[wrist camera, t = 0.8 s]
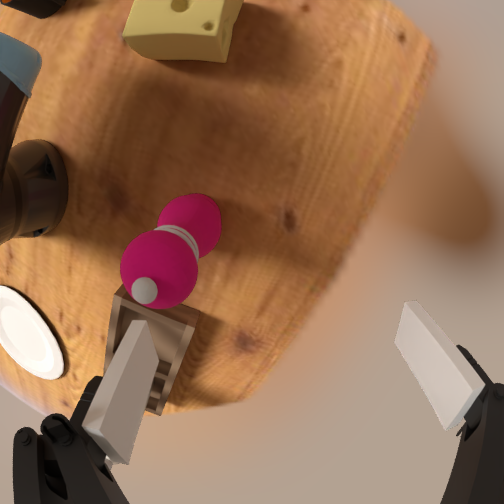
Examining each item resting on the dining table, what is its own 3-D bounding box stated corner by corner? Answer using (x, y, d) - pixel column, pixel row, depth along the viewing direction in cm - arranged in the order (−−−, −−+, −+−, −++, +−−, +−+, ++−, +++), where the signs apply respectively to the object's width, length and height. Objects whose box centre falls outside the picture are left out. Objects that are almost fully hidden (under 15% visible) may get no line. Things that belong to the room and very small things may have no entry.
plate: (-15, 263, 38) (-20, 266, 37) (66, 317, 42) (62, 322, 40) (-3, 343, 47) (-7, 346, 45) (69, 391, 50) (66, 395, 49)
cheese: (244, 1, 25) (242, -39, 16) (227, 69, 29) (218, 41, 19) (167, -2, 24) (144, -37, 15) (148, 64, 28) (114, 41, 19)
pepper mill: (230, 239, 36) (208, 337, 18) (177, 248, 37) (116, 344, 18) (218, 183, 34) (176, 232, 15) (163, 196, 34) (77, 253, 16)
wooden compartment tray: (165, 400, 48) (160, 416, 44) (109, 377, 47) (102, 391, 43) (200, 311, 40) (195, 328, 36) (125, 280, 39) (114, 294, 35)
